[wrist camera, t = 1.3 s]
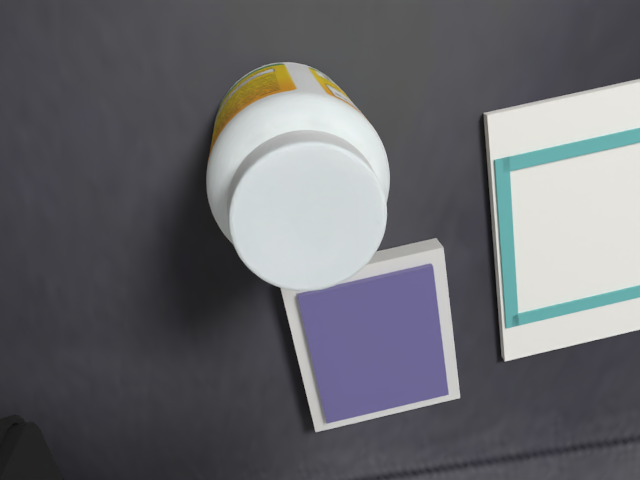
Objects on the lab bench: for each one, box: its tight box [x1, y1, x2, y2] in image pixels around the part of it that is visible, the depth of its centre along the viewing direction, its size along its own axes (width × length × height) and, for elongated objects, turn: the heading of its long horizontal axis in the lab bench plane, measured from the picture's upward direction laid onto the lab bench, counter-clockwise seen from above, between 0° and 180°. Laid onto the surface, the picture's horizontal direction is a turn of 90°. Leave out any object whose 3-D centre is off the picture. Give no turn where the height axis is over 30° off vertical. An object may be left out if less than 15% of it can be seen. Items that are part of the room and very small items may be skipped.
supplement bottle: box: [206, 62, 390, 291], centre depth 20 cm, size 5×5×10 cm
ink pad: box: [281, 238, 460, 432], centre depth 28 cm, size 8×7×1 cm
